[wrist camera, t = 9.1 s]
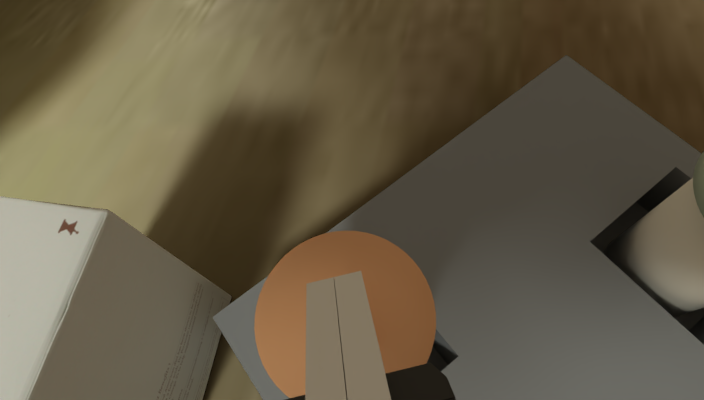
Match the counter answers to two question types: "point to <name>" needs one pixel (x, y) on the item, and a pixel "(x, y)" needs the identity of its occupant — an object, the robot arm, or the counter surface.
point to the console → (534, 251)
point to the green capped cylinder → (668, 248)
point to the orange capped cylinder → (382, 292)
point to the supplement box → (99, 309)
